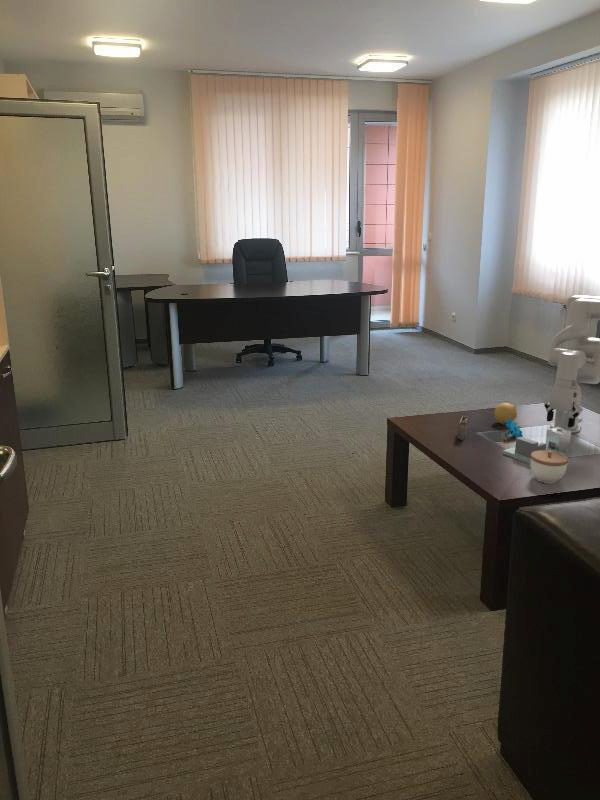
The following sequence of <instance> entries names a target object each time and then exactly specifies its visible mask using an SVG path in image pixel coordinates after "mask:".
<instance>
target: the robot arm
mask: <svg viewBox="0 0 600 800" xmlns="http://www.w3.org/2000/svg"><path fill="white" fill-rule="evenodd" d="M566 314H567V319H566V325H565V327H564V328H563V329H561V330H560V331H559V332H558V333H557V334H555V335H554V336H553V338H552V339H551V342H550V345H549V350H548V355H547V362H548V364H549V365H551V366H554V367H557V369H556V376H555V381H554V383H555V384H553V386H552V389H551V393H550V397H548V398H544V399H542V401H543V405H544V408H545V409H546V410H545V411H546V412H547V414H546V422H548V423H549V422H551V423H550V426H549V427H550V429H551V428H555V427H560V428H563V429H566V430H570V431H571V434H573V433H574V434H575V433H579V432H580V431H581V427H580V426H579V425H578V424H579V423H582V422H583V418H582V417H579V416H581V414H582V412H583V410H584V409H583V408H582V407H581V406H580V405H581V401H582V400H581V398H582V389H581V387H580V386H579V383H581V384H591V385H596V384H599V383H600V338H599V337H591V336H590V334H591V325H590V320H592V321H593V320H595V321H600V296H599V295H598V296H597V295H595V296H594V295H583V294H581V295H580V294H578V295H572V296H569V297H568V298H567V300H566ZM563 343H566V347H565V348H564V347H563V348H562V347H559V346H560V345H561V344H563ZM587 360H591V361H587ZM554 410H555V411H554ZM554 414H555V416H554ZM552 421H553V422H552Z"/></svg>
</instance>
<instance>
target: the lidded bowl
mask: <svg viewBox="0 0 600 800" xmlns="http://www.w3.org/2000/svg"><path fill="white" fill-rule="evenodd" d="M568 462H569V458H568V457H567V455H566V456H565V455H563V454H561V453H558V452H554V451H547V450H539V451H534V452H532V453H531V461H530V464H529V465H530V466H529V467H530V471H531V473H532V475H533V476H534V478H535V480H536V481H538V482H540V481H541V483H542V482H544V483H543V484H548V483H553V484H556V483H557V482H558V481H560V480H561V479H562V478H563V477H564V475H565V473H566V470H567V467H568Z"/></svg>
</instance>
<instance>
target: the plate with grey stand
mask: <svg viewBox="0 0 600 800" xmlns="http://www.w3.org/2000/svg"><path fill="white" fill-rule="evenodd" d="M539 450H547V451H554V452H558V453H561V454H563V455H565V456H566V457H567V455H566V453H565V452H563V451H562V452H559V451H556V449H553V448H547V447H546V442H545V443H544V442H541V443H539V442H538V441H534V440H532V439H529V438H527V437H524V436H523V437H519V438H516V437H515V446H514V447H511V448H506V449H503V451H502V454H503V455H504V456H508V457H511V458H513V459H516V460H517V461H518V460H519V461H521V462H524V463H526V464H529V465H530V461H531V453H532V452H534V451H539Z"/></svg>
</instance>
